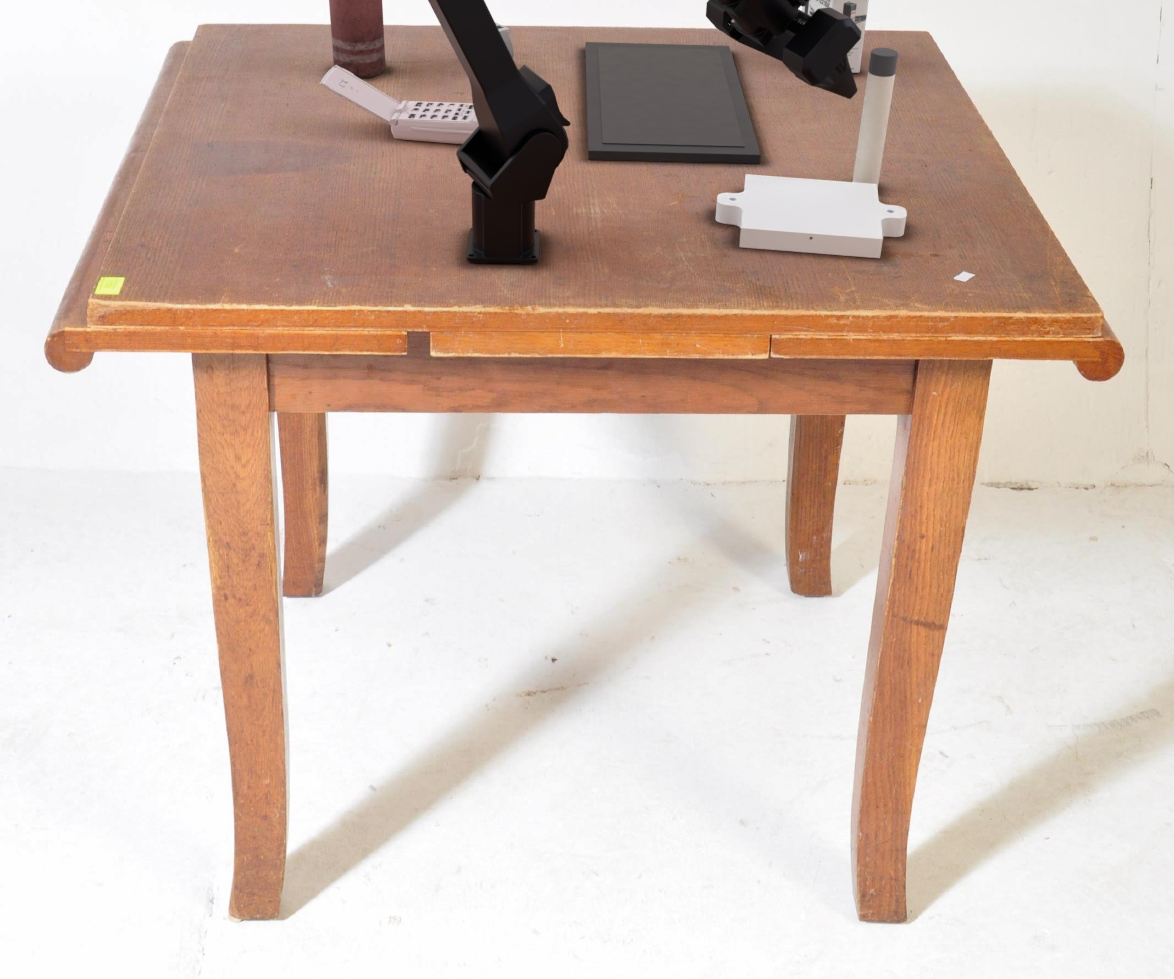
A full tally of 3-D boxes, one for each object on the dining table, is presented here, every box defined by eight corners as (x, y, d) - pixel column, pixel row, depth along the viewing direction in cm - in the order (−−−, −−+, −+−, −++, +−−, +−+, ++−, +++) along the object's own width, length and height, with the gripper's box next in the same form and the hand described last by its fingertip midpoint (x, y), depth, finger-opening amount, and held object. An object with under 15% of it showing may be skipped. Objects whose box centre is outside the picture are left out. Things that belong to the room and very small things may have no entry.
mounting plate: (712, 245, 134) (713, 226, 133) (718, 190, 144) (720, 172, 143) (907, 260, 132) (910, 241, 131) (899, 204, 143) (902, 186, 142)
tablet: (759, 164, 150) (760, 154, 150) (588, 159, 150) (588, 149, 149) (728, 53, 180) (729, 45, 179) (585, 50, 180) (585, 41, 179)
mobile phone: (331, 64, 155) (561, 78, 152) (335, 116, 158) (560, 132, 156) (315, 83, 150) (552, 98, 148) (320, 137, 153) (552, 153, 151)
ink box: (795, 54, 180) (805, -43, 174) (830, 51, 182) (843, -45, 175) (823, 76, 174) (836, -24, 167) (860, 73, 175) (874, -26, 168)
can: (325, 65, 172) (316, -56, 164) (376, 60, 174) (369, -60, 166) (340, 82, 167) (331, -42, 159) (392, 75, 170) (386, -47, 162)
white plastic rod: (879, 194, 145) (900, 56, 137) (853, 194, 145) (873, 56, 137) (874, 184, 147) (895, 48, 139) (849, 183, 147) (869, 47, 139)
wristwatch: (470, 63, 174) (469, 22, 171) (488, 59, 175) (488, 18, 172) (500, 78, 170) (499, 35, 167) (518, 73, 171) (518, 31, 169)
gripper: (857, -78, 118) (944, 42, 128) (744, -126, 132) (831, -15, 142) (765, 28, 120) (858, 138, 130) (663, -30, 134) (755, 73, 144)
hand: (826, 79), depth 137 cm, fingers open, 9 cm apart
